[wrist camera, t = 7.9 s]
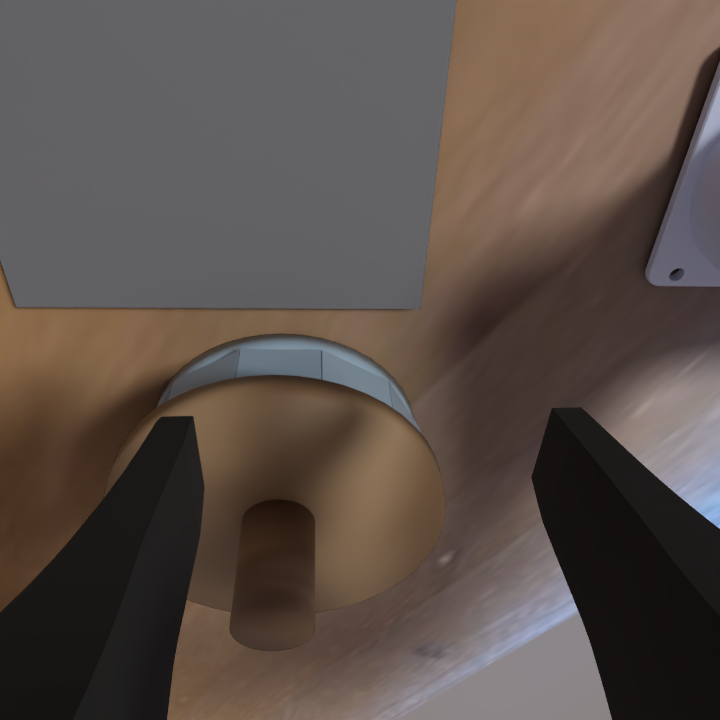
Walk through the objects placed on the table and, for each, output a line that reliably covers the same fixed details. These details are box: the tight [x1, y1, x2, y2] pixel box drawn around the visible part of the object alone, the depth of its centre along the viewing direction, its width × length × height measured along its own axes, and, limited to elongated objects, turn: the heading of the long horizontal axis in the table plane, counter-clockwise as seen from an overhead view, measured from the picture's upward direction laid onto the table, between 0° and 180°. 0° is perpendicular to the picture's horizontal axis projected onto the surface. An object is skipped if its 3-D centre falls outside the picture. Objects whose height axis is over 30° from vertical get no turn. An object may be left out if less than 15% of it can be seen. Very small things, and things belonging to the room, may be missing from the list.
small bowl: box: [156, 334, 421, 433], centre depth 25 cm, size 11×11×4 cm
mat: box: [0, 0, 457, 309], centre depth 18 cm, size 14×14×1 cm
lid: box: [104, 375, 446, 651], centre depth 21 cm, size 12×12×5 cm
